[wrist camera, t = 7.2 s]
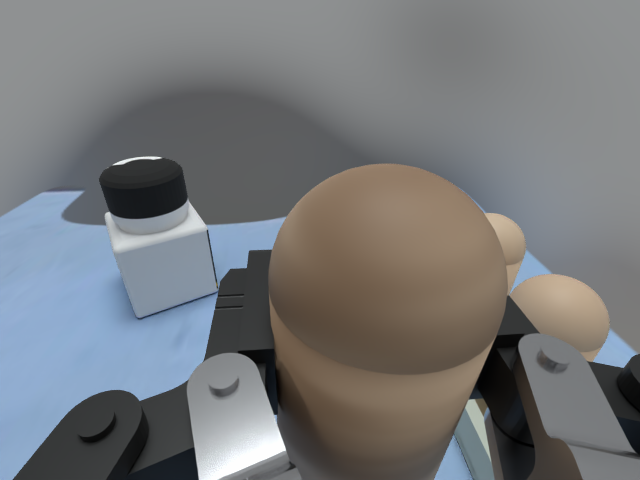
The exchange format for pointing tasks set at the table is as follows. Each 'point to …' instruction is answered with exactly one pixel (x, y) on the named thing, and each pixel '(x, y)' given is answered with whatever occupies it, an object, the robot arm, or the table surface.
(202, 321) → the table surface
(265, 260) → the robot arm
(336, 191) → the round-topped wooden peg
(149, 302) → the medicine bottle
